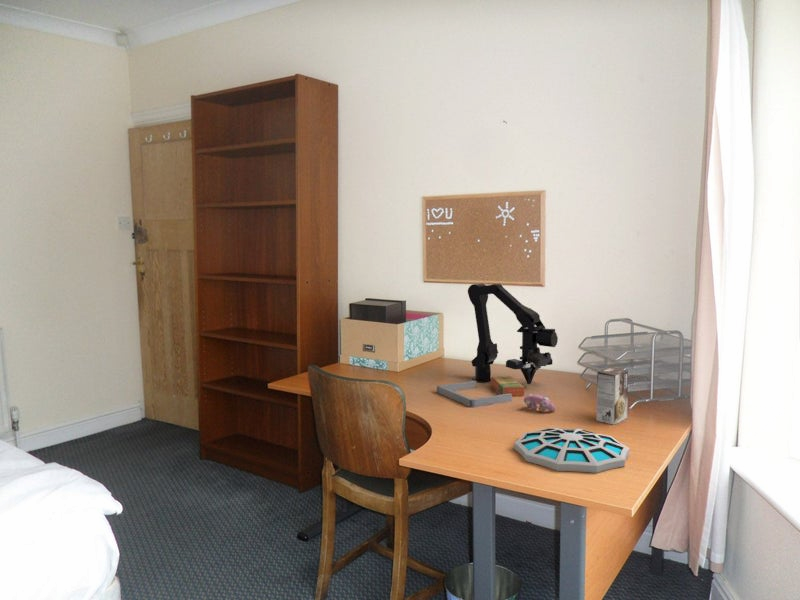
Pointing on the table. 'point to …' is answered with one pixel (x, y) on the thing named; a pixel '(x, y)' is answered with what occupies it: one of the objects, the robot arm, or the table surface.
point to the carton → (507, 386)
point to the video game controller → (539, 402)
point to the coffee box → (612, 395)
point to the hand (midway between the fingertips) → (529, 384)
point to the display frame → (449, 392)
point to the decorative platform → (572, 450)
